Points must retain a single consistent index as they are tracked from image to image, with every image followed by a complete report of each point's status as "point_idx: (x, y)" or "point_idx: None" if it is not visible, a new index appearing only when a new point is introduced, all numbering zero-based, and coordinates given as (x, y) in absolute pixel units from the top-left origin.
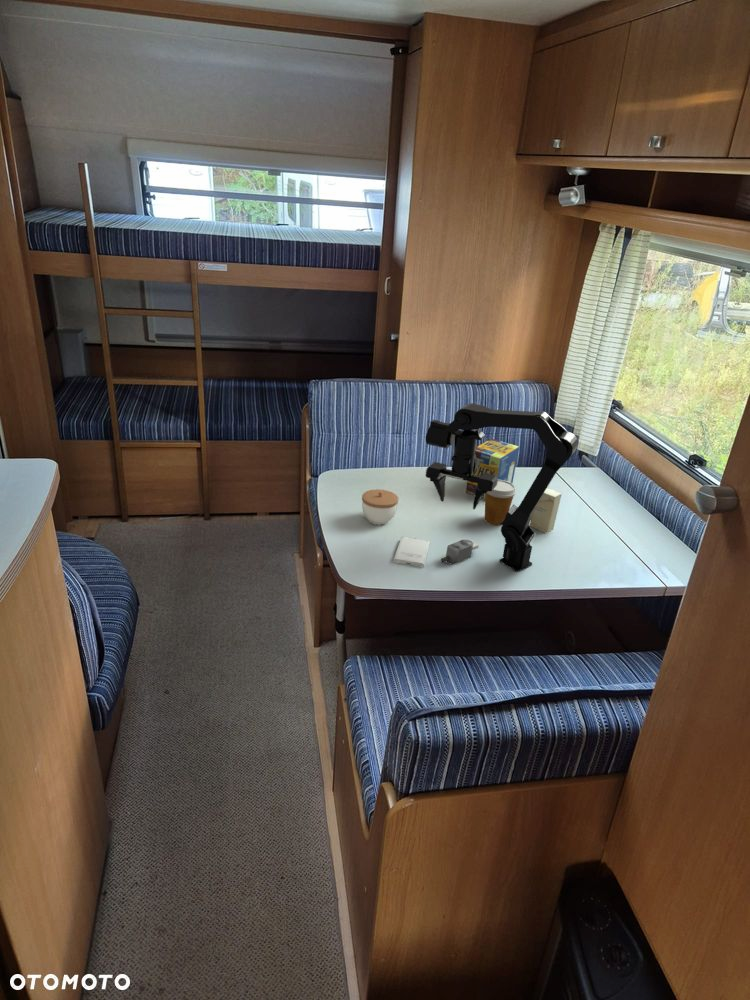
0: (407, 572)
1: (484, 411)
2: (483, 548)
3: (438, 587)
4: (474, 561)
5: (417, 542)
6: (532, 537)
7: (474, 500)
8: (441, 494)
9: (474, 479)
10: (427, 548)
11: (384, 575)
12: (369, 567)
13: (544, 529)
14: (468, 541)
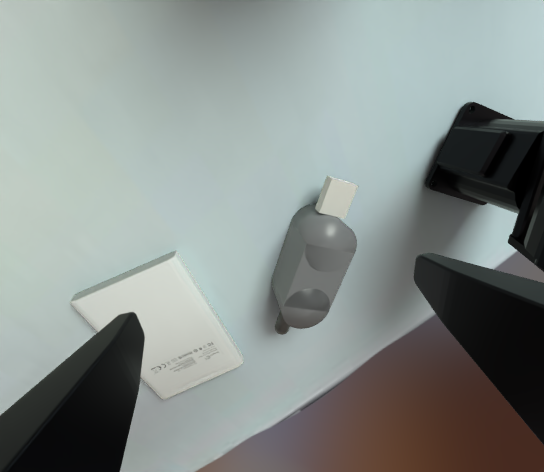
0: (225, 395)
1: None
2: (353, 132)
3: (317, 386)
4: None
5: (145, 294)
6: None
7: (499, 384)
8: (124, 447)
9: None
10: (199, 299)
11: (190, 434)
12: (136, 439)
13: None
14: (334, 235)
